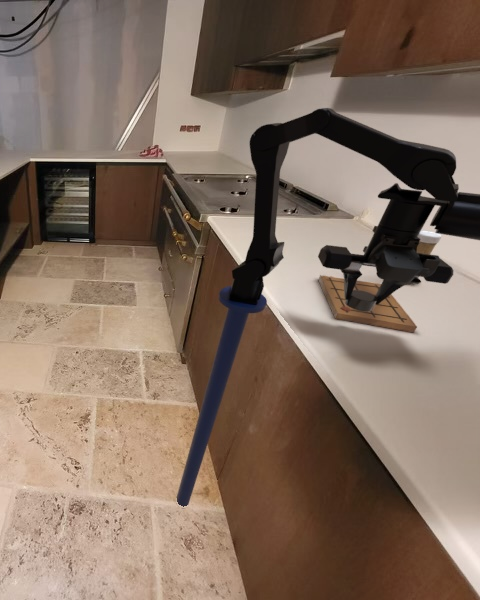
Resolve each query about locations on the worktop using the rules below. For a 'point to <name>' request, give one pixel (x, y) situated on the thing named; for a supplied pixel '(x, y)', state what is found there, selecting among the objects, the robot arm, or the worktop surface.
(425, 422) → the worktop surface
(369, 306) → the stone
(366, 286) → the board
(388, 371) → the worktop surface
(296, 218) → the worktop surface
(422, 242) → the sprinkles bottle
